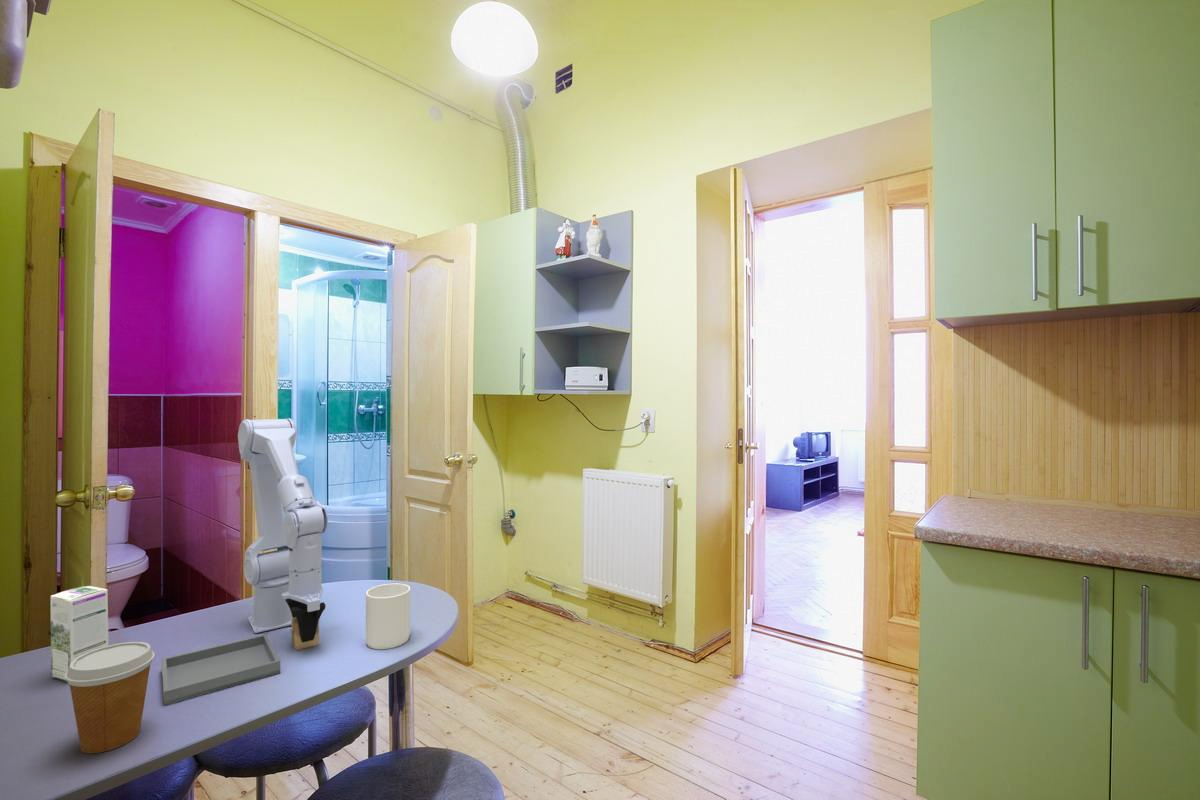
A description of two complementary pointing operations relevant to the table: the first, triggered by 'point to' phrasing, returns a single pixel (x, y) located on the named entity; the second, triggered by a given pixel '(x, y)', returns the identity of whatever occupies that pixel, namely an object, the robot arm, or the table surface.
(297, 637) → the block
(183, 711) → the table surface
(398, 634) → the cup
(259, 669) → the tray
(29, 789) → the table surface
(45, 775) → the table surface
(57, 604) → the syrup box
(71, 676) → the disposable coffee cup
